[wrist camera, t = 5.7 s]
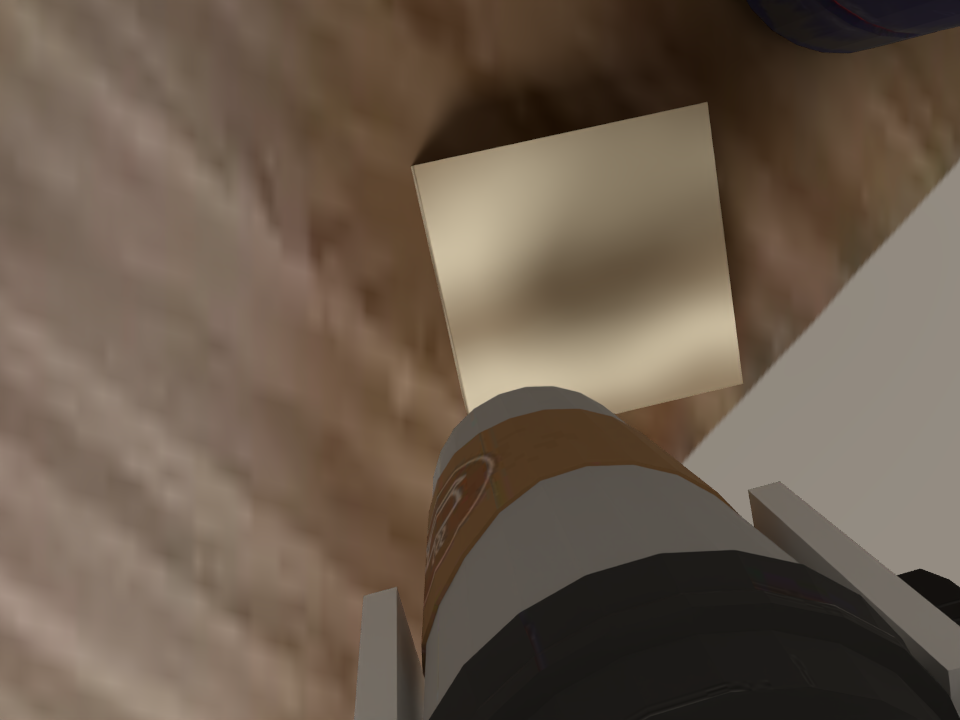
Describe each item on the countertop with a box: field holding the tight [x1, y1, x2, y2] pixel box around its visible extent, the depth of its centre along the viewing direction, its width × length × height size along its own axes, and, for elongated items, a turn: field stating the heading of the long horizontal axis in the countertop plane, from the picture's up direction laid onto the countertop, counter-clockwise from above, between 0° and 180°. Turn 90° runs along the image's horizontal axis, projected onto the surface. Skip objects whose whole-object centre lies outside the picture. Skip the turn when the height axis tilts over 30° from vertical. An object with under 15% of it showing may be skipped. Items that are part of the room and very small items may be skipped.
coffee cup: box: [422, 386, 960, 720], centre depth 17 cm, size 8×8×15 cm
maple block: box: [411, 102, 743, 415], centre depth 35 cm, size 12×12×6 cm
